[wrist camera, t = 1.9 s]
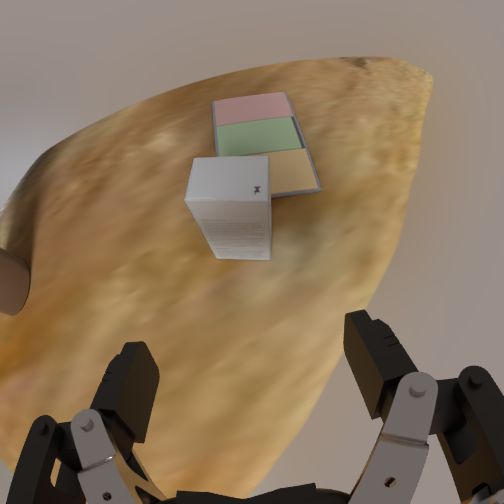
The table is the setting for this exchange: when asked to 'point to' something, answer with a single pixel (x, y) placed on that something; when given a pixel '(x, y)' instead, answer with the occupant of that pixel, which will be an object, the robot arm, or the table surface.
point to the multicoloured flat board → (266, 139)
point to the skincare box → (232, 205)
